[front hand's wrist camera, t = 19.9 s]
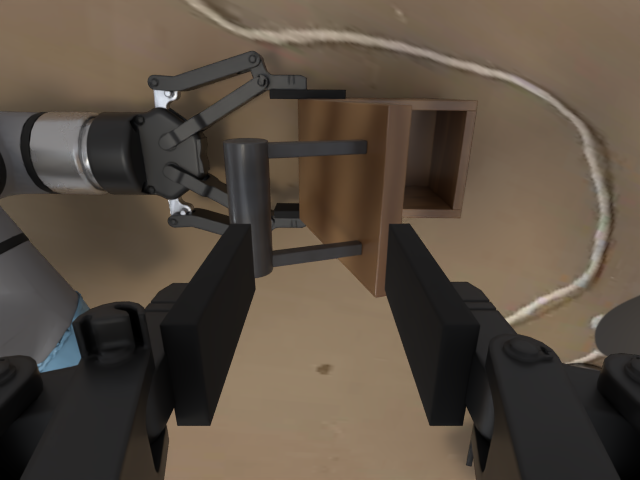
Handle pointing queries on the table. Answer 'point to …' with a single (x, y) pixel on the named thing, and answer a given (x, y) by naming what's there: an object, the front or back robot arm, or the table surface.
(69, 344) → the back robot arm
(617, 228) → the table surface
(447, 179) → the chest
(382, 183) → the lid
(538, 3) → the table surface
